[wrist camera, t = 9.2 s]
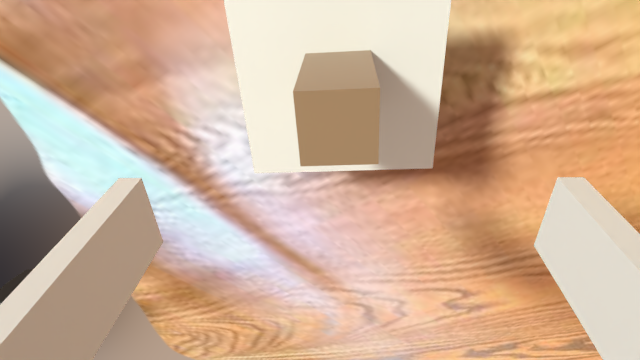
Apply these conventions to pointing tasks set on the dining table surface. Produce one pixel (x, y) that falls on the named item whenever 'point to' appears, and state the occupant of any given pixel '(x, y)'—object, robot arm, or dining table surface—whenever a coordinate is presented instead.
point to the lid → (339, 81)
